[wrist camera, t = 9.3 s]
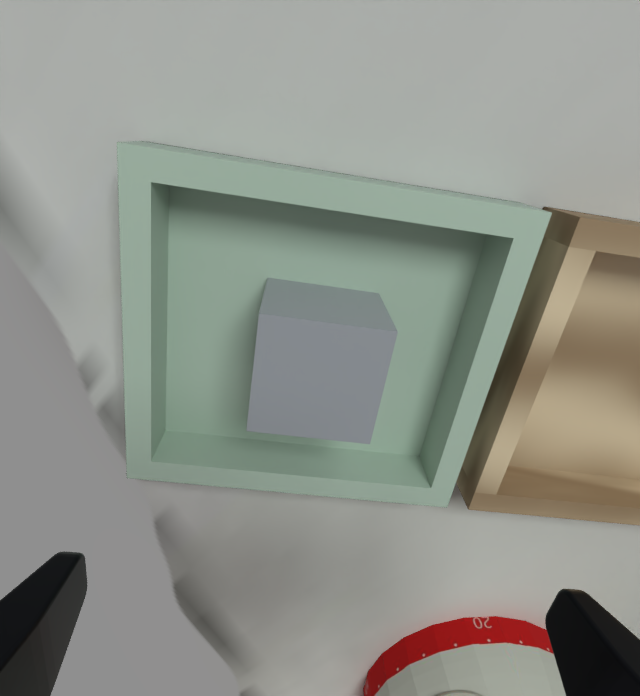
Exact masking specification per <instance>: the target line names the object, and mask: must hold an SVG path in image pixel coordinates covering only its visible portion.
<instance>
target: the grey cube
mask: <svg viewBox="0 0 640 696" xmlns="http://www.w3.org/2000/svg"><path fill="white" fill-rule="evenodd" d="M397 334H398V331H397V329H396V327H395V325H394V323H393V321H392V319H391V317H390V315H389V313H388V311H387V309H386V307H385V305H384V303H383V301H382V299H381V297H380V294H379V293H374V292H367V291H360V290H353V289H346V288H339V287H332V286H325V285H317V284H310V283H303V282H296V281H289V280H282V279H275V278H267V282H266V286H265V290H264V294H263V299H262V303H261V307H260V311H259V318H258V327H257V337H256V346H255V355H254V365H253V374H252V383H251V392H250V402H249V411H248V420H247V430H246V431H250V432H259V433H268V434H278V435H287V436H297V437H306V438H315V439H325V440H334V441H343V442H353V443H362V444H370V442H371V438H372V434H373V430H374V426H375V422H376V418H377V414H378V410H379V406H380V402H381V398H382V394H383V390H384V386H385V382H386V378H387V374H388V370H389V366H390V362H391V358H392V354H393V350H394V346H395V342H396V338H397Z"/></svg>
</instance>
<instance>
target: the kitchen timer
mask: <svg viewBox="0 0 640 696" xmlns="http://www.w3.org/2000/svg"><path fill="white" fill-rule="evenodd" d="M363 690H364V696H566V694H565V690H564V687H563V684H562V680H561V677H560V674H559V670H558V667H557V663H556V660H555V657H554V653H553V650H552V646H551V643H550V640H549V636H548V633H547V630H545V629H543V628H540V627H538V626H536V625H533V624H531V623H529V622H526V621H522V620H516V619H509V618H503V617H497V616H494V617H472V618H461V619H457V620H452V621H448V622H444V623H440V624H435V625H431V626H429V627H427V628H425V629H422V630H420V631H418V632H416V633H413V634H411V635H409V636H406V637H404V638H403V639H401V640H400V641H399V642H397V643H396V644H395V645H393V646H392V647H390V648H389V649H388V650H386V651H385V652H384V653H382V654H381V656H380V657H379V658H378V660H377V661H376V662H375V663H374V665H373V666H372V667H371V669H370V670H369V671H368V675H367V678H366V682H365V685H364V689H363Z"/></svg>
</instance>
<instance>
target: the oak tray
mask: <svg viewBox="0 0 640 696" xmlns="http://www.w3.org/2000/svg"><path fill="white" fill-rule="evenodd" d="M543 210H545V211H548V212H552V215H551V217H550V220H549V223H548V226H547V229H546V231H545V234H544V237H543V240H542V243H541V245H540V248H539V251H538V254H537V257H536V259H535V262H534V265H533V268H532V271H531V273H530V276H529V279H528V282H527V285H526V287H525V290H524V293H523V296H522V299H521V302H520V304H519V307H518V310H517V313H516V316H515V318H514V321H513V324H512V327H511V330H510V332H509V335H508V338H507V341H506V344H505V346H504V349H503V352H502V355H501V358H500V360H499V363H498V366H497V369H496V372H495V374H494V377H493V380H492V383H491V386H490V389H489V391H488V394H487V397H486V400H485V403H484V405H483V408H482V411H481V414H480V417H479V419H478V422H477V425H476V428H475V431H474V433H473V436H472V439H471V442H470V445H469V447H468V450H467V453H466V456H465V459H464V461H463V464H462V467H461V470H460V473H459V476H458V478H457V481H456V483H457V485H458V488H459V490H460V492H461V494H462V497H463V499H464V501H465V503H466V506H467V508H468V510H479V511H490V512H500V513H511V514H522V515H533V516H544V517H555V518H566V519H576V520H587V521H598V522H609V523H620V524H631V525H640V222H635V221H629V220H623V219H617V218H611V217H605V216H599V215H592V214H586V213H580V212H574V211H568V210H562V209H556V208H550V207H544V208H543Z"/></svg>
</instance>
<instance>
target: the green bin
mask: <svg viewBox="0 0 640 696" xmlns="http://www.w3.org/2000/svg"><path fill="white" fill-rule="evenodd" d="M117 163H118V197H119V231H120V265H121V299H122V333H123V367H124V401H125V435H126V469H127V478H131V479H142V480H153V481H163V482H174V483H185V484H196V485H207V486H218V487H229V488H240V489H250V490H261V491H272V492H283V493H294V494H305V495H316V496H326V497H337V498H348V499H359V500H370V501H381V502H392V503H403V504H413V505H424V506H435V507H446V508H447V506H448V504H449V501H450V498H451V495H452V492H453V490H454V487H455V484H456V481H457V478H458V476H459V473H460V470H461V467H462V464H463V461H464V459H465V456H466V453H467V450H468V447H469V445H470V442H471V439H472V436H473V433H474V431H475V428H476V425H477V422H478V419H479V417H480V414H481V411H482V408H483V405H484V403H485V400H486V397H487V394H488V391H489V389H490V386H491V383H492V380H493V377H494V374H495V372H496V369H497V366H498V363H499V360H500V358H501V355H502V352H503V349H504V346H505V344H506V341H507V338H508V335H509V332H510V330H511V327H512V324H513V321H514V318H515V316H516V313H517V310H518V307H519V304H520V302H521V299H522V296H523V293H524V290H525V287H526V285H527V282H528V279H529V276H530V273H531V271H532V268H533V265H534V262H535V259H536V257H537V254H538V251H539V248H540V245H541V243H542V240H543V237H544V234H545V231H546V229H547V226H548V223H549V220H550V217H551V215H552V212H548V211H545V210H542V209H539V208H535V207H532V206H529V205H526V204H522V203H519V202H513V201H507V200H501V199H494V198H488V197H482V196H476V195H470V194H464V193H458V192H452V191H445V190H439V189H433V188H427V187H421V186H415V185H409V184H403V183H396V182H390V181H384V180H378V179H372V178H366V177H360V176H354V175H347V174H341V173H335V172H329V171H323V170H317V169H311V168H305V167H298V166H292V165H286V164H280V163H274V162H268V161H262V160H255V159H249V158H243V157H237V156H231V155H225V154H219V153H213V152H206V151H200V150H194V149H188V148H182V147H176V146H170V145H164V144H157V143H151V142H145V141H133V142H117ZM267 278H275V279H282V280H289V281H296V282H303V283H310V284H317V285H325V286H332V287H339V288H346V289H353V290H360V291H367V292H374V293H379V294H380V297H381V299H382V301H383V303H384V305H385V307H386V309H387V311H388V313H389V315H390V317H391V319H392V321H393V323H394V325H395V327H396V329H397V331H398V334H397V338H396V342H395V346H394V350H393V354H392V358H391V362H390V366H389V370H388V374H387V378H386V382H385V386H384V390H383V394H382V398H381V402H380V406H379V410H378V414H377V418H376V422H375V426H374V430H373V434H372V438H371V442H370V444H362V443H353V442H343V441H334V440H325V439H315V438H306V437H297V436H287V435H278V434H268V433H259V432H250V431H246V430H247V420H248V411H249V402H250V392H251V383H252V374H253V365H254V355H255V346H256V337H257V327H258V318H259V311H260V307H261V303H262V299H263V294H264V290H265V286H266V282H267Z"/></svg>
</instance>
